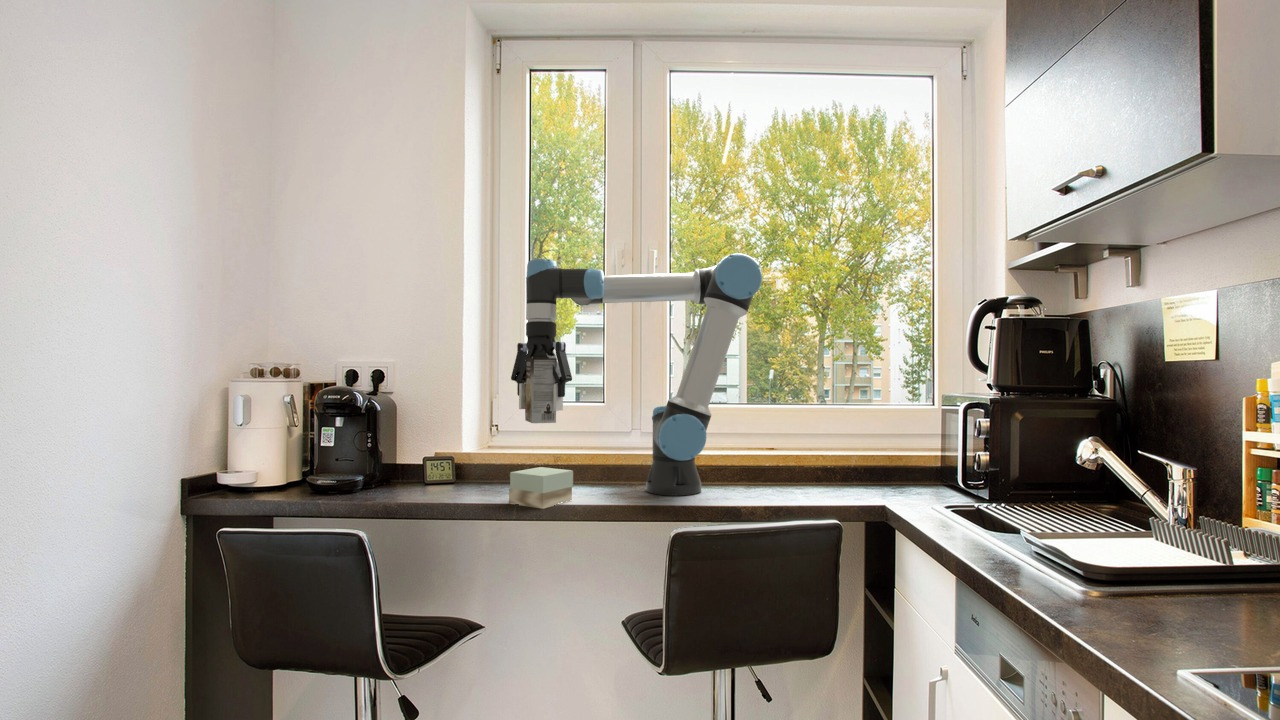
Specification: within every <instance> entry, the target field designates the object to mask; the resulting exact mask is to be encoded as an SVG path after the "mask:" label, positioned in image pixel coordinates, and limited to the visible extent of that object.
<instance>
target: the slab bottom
mask: <svg viewBox="0 0 1280 720" xmlns="http://www.w3.org/2000/svg"><path fill="white" fill-rule="evenodd" d="M570 500H572V501H573V487H569V488H564V489H560V490H555V491H551V492H546V493H539V492H531V491H524V490H517V489H510V488H508V504H509V503H514V504H513V505H515V504H519V505H518V506H523V507H529V508H536V509H542V510H543V509H547V508H551V507H555V506H557V505H556V504H558V503H561V502H566V501H570ZM570 502H571V501H570ZM566 503H567V502H566ZM554 505H555V506H554Z"/></svg>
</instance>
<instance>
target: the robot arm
mask: <svg viewBox="0 0 1280 720" xmlns="http://www.w3.org/2000/svg"><path fill="white" fill-rule="evenodd" d="M525 279H526V280H525V283H526V285H525V288H526V291H525V293H526V295H525V296H526V297H525V299H526V305H525V306H526V308H525V309H526V310H525V313H526V314H525V318H526V319H525V320H527V321H528V322H526V323H525V335H526V337H527V342H518V343H517V344H516V345H517V346H516V347H517V353H516V357H515V360H514V365H513V368H512V371H511V372H512V373H511V376H510V380H511V381H514V382H516V384H517V385H516V387H517V389H516V390H517V396H518V410H525V376H526V368H527V359H528V358H557V368H555V367H554V366H553V376H554V378H555V380H556V382H555V384H554V404H553V411H556V412H558V411H564V409H563V408H564V407H563V406H564V397H565V396H566V384H567V383H568V382H572V380H573V376H572V372H571V367H570V364H569V361H568V357H567V352H566V348H567V347H566V346H567V345H566V342H565V341H557V342H556V340H555V339H556V337H557V323H556V322H555V321H556V320H557V299H570V300H572V301H573V303H575V304H576V305H579V306H589V305H594V304H595V305H596V304H598V305H599V304H616V303H617V304H619V303H623V304H624V303H646V302H647V303H650V302H679V301H680V302H684V301H692V302H694V303H695V304H696V305H701V304H703V305H705V306H706V310H705V312H704V315H703V319H702V321H701V324H700V326H699V330H698V332H697V335H696V338H695V341H694V343H693V347H692V349H691V351H690V355H689V357H688V358H689V359H688V361H687V364H686V367H685V369H684V372H683V375H682V378H681V381H680V383H679V387H678V389H677V392H676V394H675V396H673V397H670V398H669V399H668V400H667V403H666V405H663V406H661V405H660V406H656V407H655V408H654V409H652V416H651V421H652V463H651V467H650V469H649V472H648V476H647V477H646V480H645V481H646V482H645V490H646V492H648V493H650V494H654V495H659V496H660V495H662V496H689V495H695V494H699V493H701V492H702V482H701V478H700V475H699V471H698V468H697V464H696V457H697V456H698V455H699V454H701V452H702V451H703V450H704V448H705V446H706V443H707V429H708V426H709V424H710V420H711V418H712V412H711V411H710V409H709V405H710V402H711V400H712V397H713V394H714V391H715V387H716V386H717V382H718V379H719V377H720V373H721V372H722V371H721V370H722V368H723V365H724V363H725V359H726V356H727V353H728V350H729V348H730V346H731V342H732V339H733V337H734V333H735V331H736V328H737V325H738V323H739V320H740V319H741V317H743V316H746V315H747V314H748V311H749V309H750V305H751V303H752V300H753V298H754V295H756V294H757V292H758V291H759V290H760V287H761V285H762V281H763V274H762V269H761V267H760V265H759V263H758V262H757V261H756V260H755V259H754V258H753V257H751V256H750V255H747V254H744V253H731V254H728V255H726V256H724V257H722V258H721V259H720V260H719V261H718V263H717V264H716V265H714V266H711V267H707V268H705V267H704V268H695V270H693V271H692V272H681V273H676V272H675V273H651V274H650V273H647V274H644V273H643V274H620V275H619V274H617V275H615V274H614V275H605V274H604V271H603V270H602V269H598V268H591V267H589V268H560V267H558V263H557V261H555V260H553V259H549V258H535V259H530V260H529V261H528V262H527V267H526V277H525Z"/></svg>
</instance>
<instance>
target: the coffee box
mask: <svg viewBox="0 0 1280 720" xmlns="http://www.w3.org/2000/svg"><path fill="white" fill-rule="evenodd" d="M557 362H558V360H557V357H556V358H528V359H527V368H526V376H525V409H524V417H525V418H524V420H525V421H526V422H529V423H531V424H556V423H557V411H553V404H554V384H555V382H556V380H555V378H554V376H553V366H554V367H555V368H557Z"/></svg>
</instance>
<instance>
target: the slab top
mask: <svg viewBox="0 0 1280 720" xmlns="http://www.w3.org/2000/svg"><path fill="white" fill-rule="evenodd" d="M509 484H510V485H509V489H517V490H524V491H531V492H539V493H546V492H551V491H555V490H560V489H564V488H569V487H572V488H573V487H574V470H571V469H563V468H562V469H561V468H552V467H543V466H539V467H533V468H527V469H526V468H525V469H522V470H516V471H511V472H509Z"/></svg>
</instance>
